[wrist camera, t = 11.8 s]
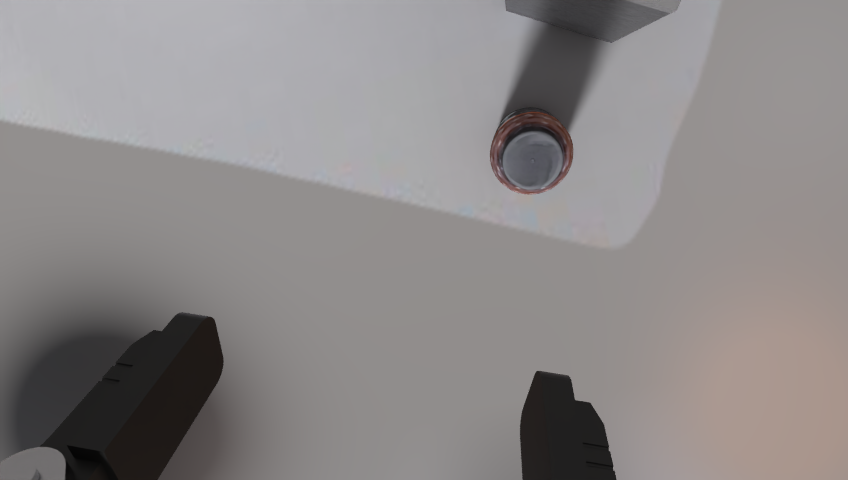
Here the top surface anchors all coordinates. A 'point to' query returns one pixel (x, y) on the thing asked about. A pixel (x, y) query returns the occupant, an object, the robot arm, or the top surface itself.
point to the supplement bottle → (531, 151)
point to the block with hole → (595, 14)
